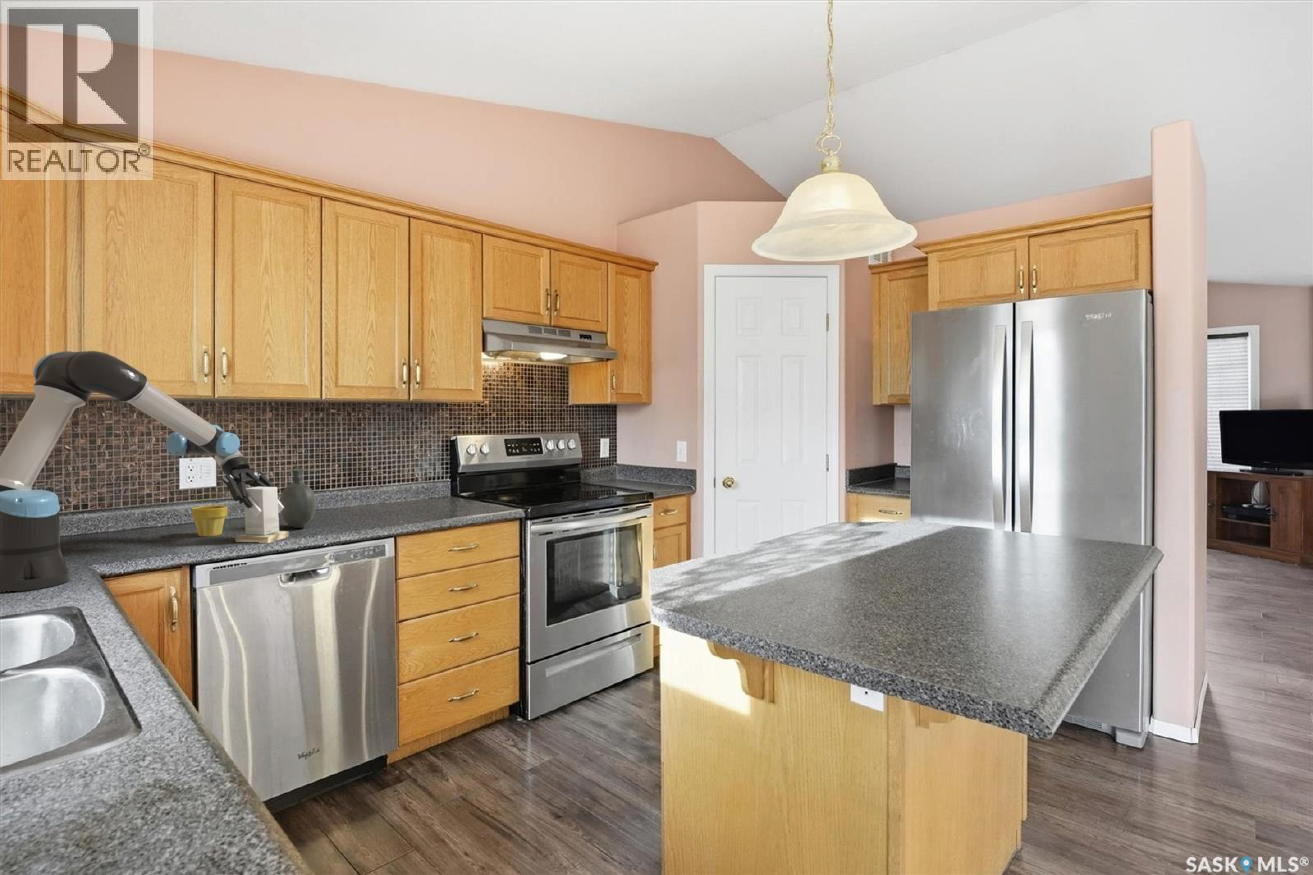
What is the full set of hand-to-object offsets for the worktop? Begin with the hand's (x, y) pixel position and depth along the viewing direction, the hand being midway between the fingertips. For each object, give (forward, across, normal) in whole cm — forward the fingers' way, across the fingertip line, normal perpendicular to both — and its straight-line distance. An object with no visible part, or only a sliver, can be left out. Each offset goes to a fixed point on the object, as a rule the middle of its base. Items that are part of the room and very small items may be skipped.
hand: (269, 511), depth 220 cm
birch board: (+4, 0, -9) cm, 10 cm away
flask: (-1, -22, -15) cm, 26 cm away
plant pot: (-13, -1, -27) cm, 30 cm away
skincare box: (+3, 0, -8) cm, 8 cm away
